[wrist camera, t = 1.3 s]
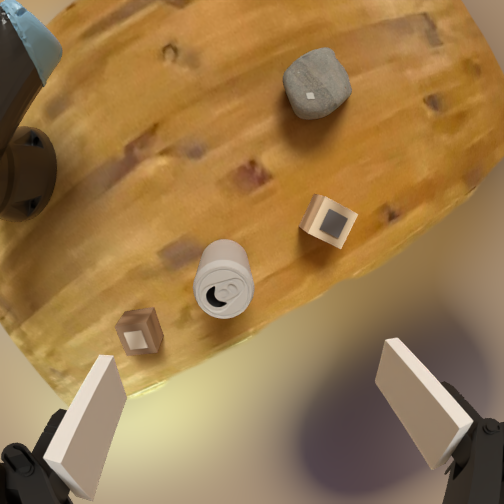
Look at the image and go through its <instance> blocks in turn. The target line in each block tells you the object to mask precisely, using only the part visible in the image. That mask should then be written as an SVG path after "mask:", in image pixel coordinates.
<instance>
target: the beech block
mask: <svg viewBox="0 0 504 504" xmlns="http://www.w3.org/2000/svg"><path fill="white" fill-rule="evenodd" d="M357 215H358V214H357V213H355V212H353V211H351V210H349V209H348V208H346V207H344V206H342V205H340V204H338V203H337V202H335V201H333V200H331V199H329V198H327V197H325V196H321V195H317V194H314V195H313V197H312V199H311V202H310V204H309V206H308V208H307V210H306V212H305V214H304V216H303V218H302V220H301V222H300V225H299V227H300V228H302V229H303V230H304V231H306V232H307V233H308V234H311V235H313V236H315V237H317V238H319V239H321V240H323V241H325V242H327V243H329V244H331V245H333V246H335V247H337V248H339V249H341V248H342V246H343V244H344V242H345V240H346V238H347V236H348V234H349V232H350V230H351V228H352V226H353V224H354V222H355V220H356V218H357Z"/></svg>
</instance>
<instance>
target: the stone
mask: <svg viewBox="0 0 504 504" xmlns="http://www.w3.org/2000/svg"><path fill="white" fill-rule="evenodd" d="M283 85H284V88H285V91H286V94H287V96H288V99H289V101H290V104H291V106H292V109H293V111H294V113H295V114H296V115H297V116H298V117H299V118H301V119H307V120H311V119H319V118H322V117H325V116H327V115H329V114H330V113H332V112H333V111H334V110H335V109H337V108H338V107H339V106H340V105H341V104H342V103H343V102H344V101H345V100H346V99H347V98H348V97H349V96H350V95H351V93H352V89H351V85H350V82H349V77H348V75H347V72H346V71H345V69H344V67H343V66H342V65H341V64H340V63H339V61H338V60H337V59H336V58H335V53H334V52H333V50H331V49H330V48H320V49H316V50H313V51H310V52H308V53H306V54H304V55H303V56H301V57H300V58H298V59H297V60H296V61H294V62H293V64H292V65H290V66H289V68H288V69H287V70H286V71H285V73H284V75H283Z"/></svg>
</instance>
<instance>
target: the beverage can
mask: <svg viewBox="0 0 504 504" xmlns="http://www.w3.org/2000/svg"><path fill="white" fill-rule="evenodd" d="M193 290H194V296H195V298H196V301H197V302H198V304H199V306H200V307H201V308H202V310H203V311H204V312H206V313H207V314H209V315H210V316H213V317H216V318H221V319H227V318H232V317H235V316H237V315H239V314H241V313H242V312H243V311H244V310H245V309H246V308H247V306H248V305H249V303H250V302H251V300H252V298H253V294H254V282H253V278H252V274H251V270H250V266H249V262H248V257H247V254H246V252H245V250H244V249H243V248H242V246H240V245H239V244H238V243H236V242H234V241H232V240H227V239H222V240H217V241H214V242H212V243H211V244H210V245H208V246H207V247H206V249H205V250H204V252H203V254H202V257H201V260H200V263H199V266H198V270H197V273H196V276H195V279H194V284H193Z"/></svg>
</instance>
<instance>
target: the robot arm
mask: <svg viewBox="0 0 504 504" xmlns="http://www.w3.org/2000/svg"><path fill="white" fill-rule="evenodd" d="M61 57H62V47H61V44H60V43H59V41H58V40H57V39H56V37H55V36H54V35H53V34H52V33H51V32H50V31H49V30H48V29H47V28H46V27H45V26H44V25H43V24H42V23H41V22H40V21H39V20H38V19H37V18H36V17H35V16H34V15H33V14H31V13H30V12H28V11H27V10H26V9H25V8H24V7H23V6H22V5H21V4H20V3H18V2H17V1H16V0H5V1H4V2H1V3H0V219H3V220H7V221H11V222H21V221H25V220H28V219H31V218H33V217H35V216H36V215H38V214H39V213H40V212H41V211H42V210H43V209H44V207H45V206H46V205H47V203H48V201H49V199H50V197H51V195H52V192H53V189H54V185H55V180H56V169H57V167H56V156H55V151H54V148H53V145H52V143H51V141H50V139H49V138H48V137H47V135H46V134H45V133H44V132H42V131H41V130H39V129H37V128H32V127H26V126H22V127H18V126H19V124H20V122H21V120H22V119H23V117H24V115H25V114H26V112H27V110H28V109H29V107H30V105H31V104H32V102H33V101H34V99H35V98H36V96H37V94H38V93H39V91H40V90H41V88H42V87H44V86H45V85H46V81H47V79H48V78H49V76H50V75H51V73H52V72H53V70H54V69H55V67H56V66H57V64H58V63H59V62H60V60H61ZM375 383H376V384H377V386H378V387H379V389H380V390H381V391H382V393H383V395H384V396H385V397H386V399H387V401H388V402H389V404H390V405H391V407H392V408H393V410H394V412H395V413H396V415H397V416H398V418H399V419H400V421H401V422H402V424H403V425H404V427H405V429H406V430H407V432H408V433H409V435H410V436H411V438H412V439H413V441H414V443H415V444H416V446H417V447H418V449H419V451H420V452H421V454H422V455H423V457H424V458H425V460H426V462H427V463H428V465H429V466H430V468H431V470H433V469H435V468H437V467H439V466H441V465H443V464H445V463H446V462H447V460H448V459H449V458H450V456H451V455H452V457H453V458H454V461H453V462H452V463H451V465H450V466H449V467H448V468H447V470H446V471H445V474H447V473H448V472H449V471H450V474H449V479H448V484H447V488H446V492H445V496H444V500H443V503H442V504H504V422H501V423H499V422H498V421H496V420H495V419H492V418H485V419H483V418H482V417H481V416H480V415H479V414H478V413H477V412H476V411H475V410H474V409H473V407H472V406H471V405H470V404H469V403H468V402H467V401H466V400H464V397H463V396H462V395H460V394H459V392H458V391H457V390H456V389H455V388H454V387H453V386H452V385H450V384H448V383H446V382H442V383H439V381H438V380H437V379H436V378H435V377H434V376H433V375H432V374H431V373H430V372H429V370H428V369H427V368H426V367H425V366H424V365H423V364H422V363H421V362H420V361H419V360H418V359H417V358H416V357H415V355H414V354H413V353H412V352H411V351H410V350H409V349H408V348H407V347H406V346H405V345H404V344H403V343H402V342H401V341H400V340H399V339H398V338H393V339H388V340H385V343H384V347H383V352H382V356H381V360H380V364H379V368H378V372H377V376H376V379H375ZM126 400H127V396H126V393H125V390H124V388H123V385H122V382H121V379H120V376H119V372H118V369H117V366H116V363H115V359H114V356H110V355H99V357H98V358H97V360H96V361H95V363H94V365H93V366H92V368H91V370H90V372H89V373H88V375H87V377H86V378H85V380H84V382H83V383H82V385H81V387H80V389H79V390H78V392H77V394H76V396H75V398H74V399H73V401H72V403H71V405H70V407H69V408H68V410H63V409H59V410H58V411H57V412H56V413H55V414H53V415H52V417H51V418H50V420H49V422H48V423H47V426H46V427H45V429H44V432H43V433H42V434H41V436H40V438H39V440H38V442H37V444H36V446H35V447H34V449H33V451H32V453H31V452H30V451H29V450H28V448H27V447H26V446H24V445H23V444H21V443H12V444H10V445H8V446H7V447H5V448H4V450H3V452H2V454H1V459H2V461H3V462H4V463H0V504H73V503H72V501H71V499H70V498H69V496H68V494H69V491H70V490H71V491H72V492H73V493H74V494H75V496H77V497H80V498H83V499H87V500H90V501H93V499H94V496H95V493H96V489H97V486H98V482H99V479H100V476H101V473H102V469H103V466H104V463H105V460H106V457H107V453H108V450H109V448H110V445H111V441H112V439H113V436H114V433H115V430H116V427H117V424H118V421H119V419H120V416H121V413H122V410H123V408H124V405H125V402H126ZM450 469H451V470H450Z"/></svg>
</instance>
